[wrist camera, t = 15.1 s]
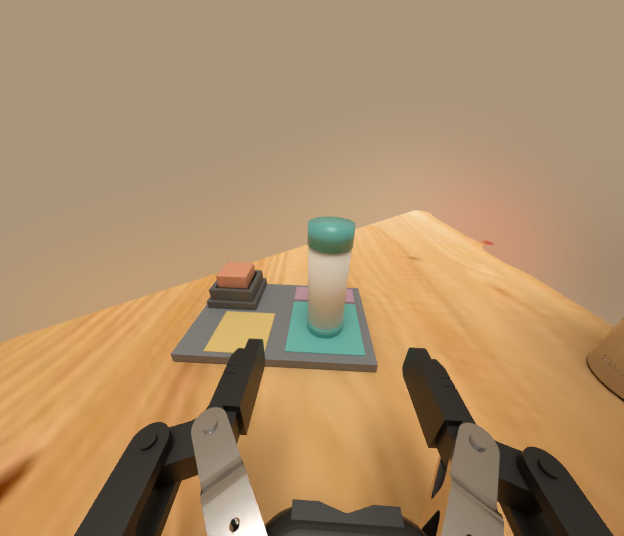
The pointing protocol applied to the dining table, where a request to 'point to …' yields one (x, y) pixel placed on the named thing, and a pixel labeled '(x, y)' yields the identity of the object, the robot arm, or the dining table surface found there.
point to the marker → (328, 273)
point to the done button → (236, 275)
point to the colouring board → (276, 329)
